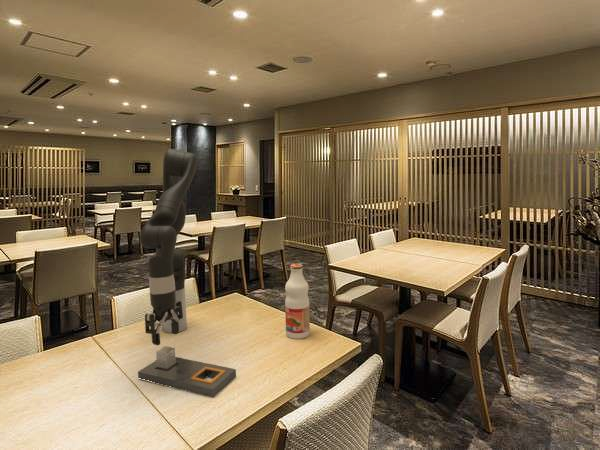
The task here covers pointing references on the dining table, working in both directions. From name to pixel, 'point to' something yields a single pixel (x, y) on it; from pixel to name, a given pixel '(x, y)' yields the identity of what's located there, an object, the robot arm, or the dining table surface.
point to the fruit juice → (297, 304)
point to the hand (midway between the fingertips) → (166, 339)
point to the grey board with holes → (190, 376)
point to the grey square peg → (166, 358)
